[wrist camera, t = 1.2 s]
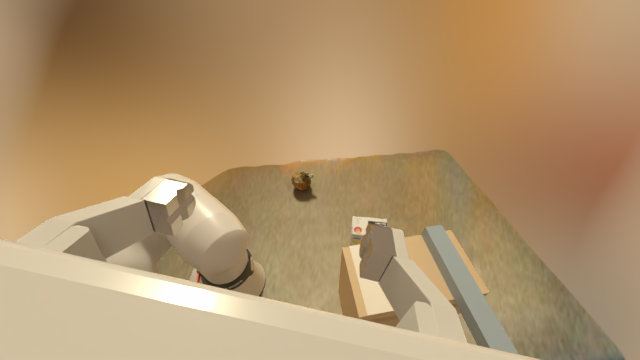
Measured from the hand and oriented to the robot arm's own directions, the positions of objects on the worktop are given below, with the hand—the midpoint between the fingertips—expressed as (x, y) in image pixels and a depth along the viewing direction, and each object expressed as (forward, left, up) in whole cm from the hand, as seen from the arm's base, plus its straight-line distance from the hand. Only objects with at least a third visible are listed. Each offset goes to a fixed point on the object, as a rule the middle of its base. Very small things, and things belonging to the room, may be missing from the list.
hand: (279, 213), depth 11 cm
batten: (+27, +5, -37) cm, 46 cm away
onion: (+2, +58, -63) cm, 85 cm away
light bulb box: (+20, +29, -63) cm, 72 cm away
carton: (+20, +9, -63) cm, 66 cm away
